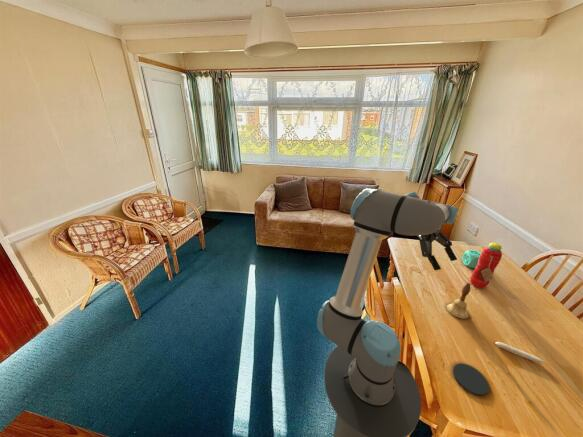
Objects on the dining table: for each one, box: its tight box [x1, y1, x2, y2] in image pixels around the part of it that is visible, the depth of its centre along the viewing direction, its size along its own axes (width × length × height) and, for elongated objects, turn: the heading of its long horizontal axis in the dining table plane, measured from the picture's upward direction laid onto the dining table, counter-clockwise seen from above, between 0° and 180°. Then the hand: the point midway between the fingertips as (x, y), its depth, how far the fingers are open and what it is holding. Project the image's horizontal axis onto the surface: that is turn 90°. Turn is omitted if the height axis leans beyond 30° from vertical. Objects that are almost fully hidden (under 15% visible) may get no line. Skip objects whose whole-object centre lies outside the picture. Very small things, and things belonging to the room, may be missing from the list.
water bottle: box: [469, 242, 503, 289], centre depth 113 cm, size 12×8×25 cm, turn 142°
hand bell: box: [446, 282, 471, 320], centre depth 101 cm, size 8×8×16 cm
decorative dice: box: [461, 249, 482, 270], centre depth 133 cm, size 8×8×8 cm
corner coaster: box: [452, 363, 490, 397], centre depth 78 cm, size 10×10×1 cm
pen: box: [494, 341, 546, 364], centre depth 86 cm, size 2×14×2 cm, turn 55°
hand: (446, 264), depth 104 cm, fingers open, 13 cm apart
